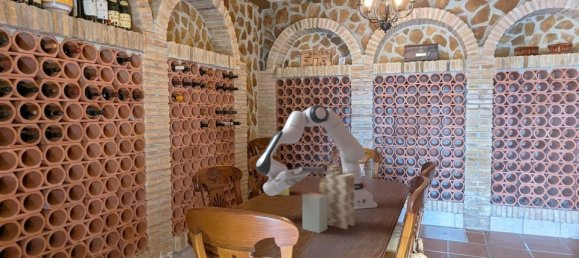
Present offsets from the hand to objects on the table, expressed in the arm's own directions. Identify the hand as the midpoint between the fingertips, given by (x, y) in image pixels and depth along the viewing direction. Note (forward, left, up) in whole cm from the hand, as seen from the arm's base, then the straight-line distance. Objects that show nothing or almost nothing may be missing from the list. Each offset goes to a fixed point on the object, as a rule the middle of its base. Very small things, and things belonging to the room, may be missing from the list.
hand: (305, 168), depth 178 cm
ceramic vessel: (-25, -50, -30) cm, 64 cm away
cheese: (+6, -72, -30) cm, 78 cm away
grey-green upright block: (-4, +4, -30) cm, 30 cm away
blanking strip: (-2, +2, -1) cm, 4 cm away
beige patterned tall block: (-18, -1, -30) cm, 35 cm away
